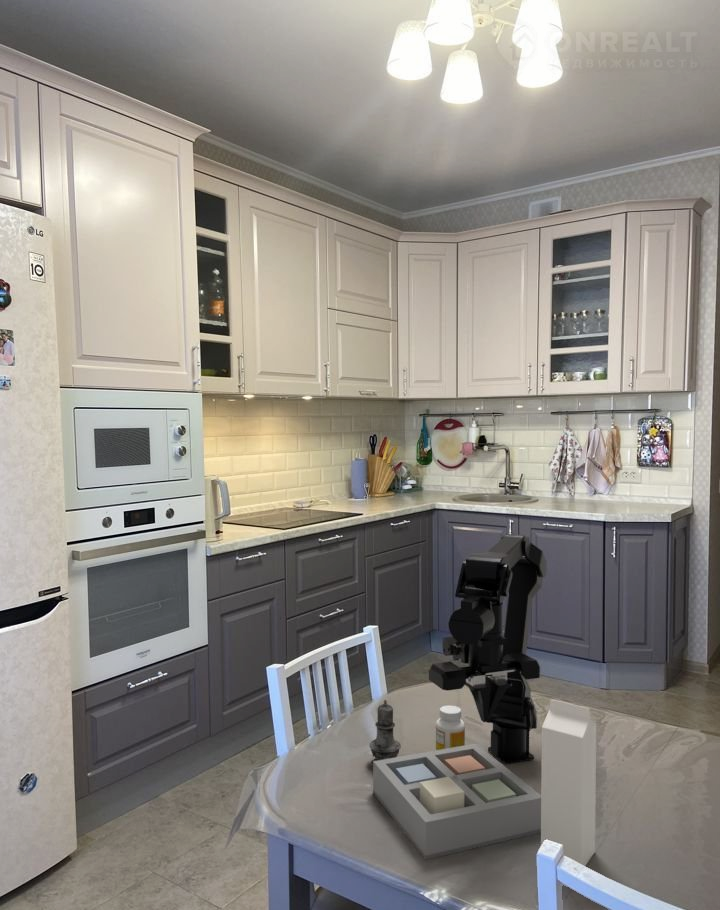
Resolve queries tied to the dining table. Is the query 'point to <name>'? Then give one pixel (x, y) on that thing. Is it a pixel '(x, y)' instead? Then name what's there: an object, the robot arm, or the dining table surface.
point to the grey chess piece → (384, 735)
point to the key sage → (492, 791)
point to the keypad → (459, 825)
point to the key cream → (441, 795)
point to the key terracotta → (463, 765)
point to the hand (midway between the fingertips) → (484, 721)
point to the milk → (569, 779)
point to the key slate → (414, 774)
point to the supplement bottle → (450, 728)
